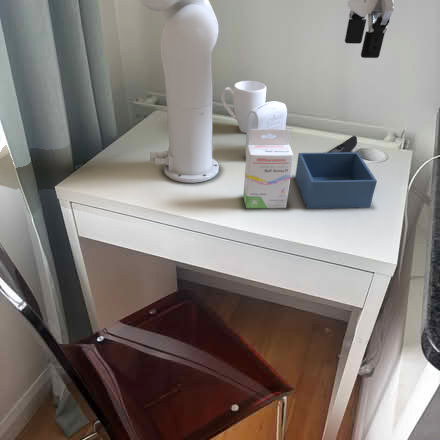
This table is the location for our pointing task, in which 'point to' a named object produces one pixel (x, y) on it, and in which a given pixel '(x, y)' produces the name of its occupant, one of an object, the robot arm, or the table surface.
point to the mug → (245, 100)
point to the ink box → (267, 169)
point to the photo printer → (267, 118)
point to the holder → (334, 180)
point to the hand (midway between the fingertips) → (360, 49)
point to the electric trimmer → (345, 146)
